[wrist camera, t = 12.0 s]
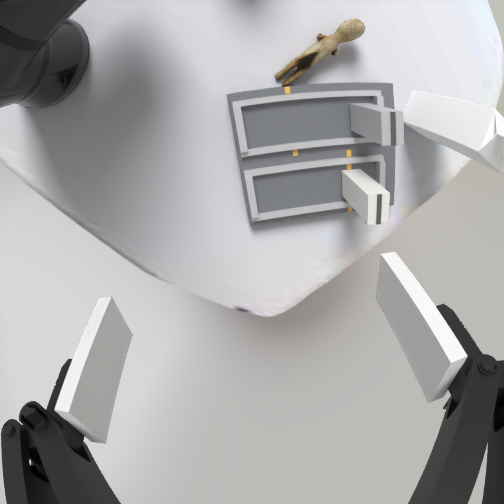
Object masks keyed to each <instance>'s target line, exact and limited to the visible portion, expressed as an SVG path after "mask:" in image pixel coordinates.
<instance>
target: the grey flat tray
mask: <svg viewBox="0 0 504 504" xmlns="http://www.w3.org/2000/svg"><path fill="white" fill-rule="evenodd" d="M227 98H228V104H229V109H230V115H231V121H232V126H233V132H234V138H235V143H236V149H237V155H238V161H239V166H240V172H241V178H242V183H243V189H244V195H245V201H246V206H247V212H248V218H249V224H250V226H255V225H261V224H267V223H273V222H280V221H286V220H293V219H299V218H306V217H313V216H319V215H326V214H333V213H340V212H347V211H348V212H351V211H354V208H353V207H352V206H351V205H350V204H349V202H348V201H347V200H346V199H345V198H344V197H343V196H342V170H352V169H361V170H362V171H364V172H365V173H366V174H367V175H369V176H370V177H371V178H372V179H374V180H375V181H376V182H377V183H379V184H380V185H381V186H382V187H383V188H385V189H386V190H387V191H388V192H389V193H390V202H389V206H391V205H394V186H395V146H392V145H386V146H382V145H380V144H378V143H376V142H374V141H372V140H370V139H368V138H366V137H364V136H362V135H360V134H358V133H356V132H354V131H351V121H350V108H349V103H371V104H375V105H379V106H383V107H387V108H391V109H394V97H393V84H391V83H325V84H308V85H295V86H285V87H275V88H267V89H259V90H252V91H245V92H238V93H232V94H227Z"/></svg>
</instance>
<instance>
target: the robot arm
mask: <svg viewBox="0 0 504 504" xmlns="http://www.w3.org/2000/svg"><path fill="white" fill-rule="evenodd" d="M85 1H86V0H0V108H1V107H4V106H7V105H11V104H14V103H16V104H19V105H22V106H26V107H29V108H44V107H48V106H52V105H54V104H57V103H59V102H60V101H62V100H63V99H65V98H66V97H67V96H68V95H69V94H70V93H71V92H72V91H73V90H74V89H75V88H76V86H77V85H78V83H79V82H80V80H81V78H82V76H83V74H84V72H85V69H86V66H87V62H88V57H89V43H88V38H87V35H86V33H85V31H84V29H83V28H82V27H81V25H80V24H78V23H77V22H76V21H74V20H71V19H68V18H69V17H70V16H71V15H72V14H73V13H74V12H75V11H76V10H77V9H78V8H79V7H80V6H81V5H82V4H83V3H84V2H85ZM376 300H377V301H378V303H379V305H380V307H381V309H382V310H383V312H384V314H385V316H386V318H387V320H388V322H389V324H390V326H391V328H392V329H393V331H394V333H395V335H396V337H397V339H398V341H399V343H400V345H401V347H402V349H403V351H404V353H405V355H406V357H407V359H408V361H409V363H410V365H411V368H412V370H413V372H414V374H415V376H416V378H417V380H418V382H419V384H420V387H421V389H422V391H423V393H424V396H425V398H426V400H427V402H428V403H429V402H432V401H435V400H437V399H440V398H442V397H443V396H444V395H445V393H446V392H447V390H449V392H450V394H451V397H450V398H449V399H448V401H447V402H446V404H445V405H444V407H443V409H446V412H445V415H444V418H443V421H442V425H441V427H440V431H439V434H438V436H437V439H436V442H435V444H434V447H433V450H432V452H431V455H430V457H429V460H428V462H427V464H426V467H425V469H424V471H423V474H422V476H421V478H420V480H419V482H418V485H417V487H416V489H415V491H414V493H413V495H412V497H411V499H410V501H409V503H408V504H468V501H469V499H470V496H471V493H472V491H473V488H474V485H475V482H476V479H477V476H478V474H479V470H480V467H481V464H482V461H483V457H484V453H485V450H486V446H487V442H488V453H487V468H486V478H485V486H484V494H483V500H482V504H504V360H503V361H496V360H495V359H494V358H493V357H492V356H490V355H487V354H482V352H481V351H480V350H479V348H478V347H477V345H476V343H475V342H474V340H473V339H472V337H471V336H470V334H469V333H468V331H467V330H466V328H464V325H463V324H462V322H461V321H459V318H458V317H457V315H456V314H455V312H454V311H453V310H452V309H450V308H449V307H448V306H446V305H445V304H442V305H438V306H435V305H434V304H433V302H432V301H431V299H430V298H429V297H428V295H427V294H426V293H425V291H424V290H423V288H422V287H421V285H420V284H419V283H418V281H417V280H416V279H415V277H414V276H413V275H412V273H411V272H410V271H409V269H408V268H407V267H406V265H405V264H404V263H403V261H402V260H401V259H400V258H399V256H398V255H397V254H396V253H395V252H390V253H385V254H381V259H380V269H379V277H378V285H377V292H376ZM131 338H132V333H131V331H130V329H129V328H128V326H127V324H126V322H125V320H124V319H123V317H122V315H121V313H120V311H119V309H118V307H117V306H116V304H115V302H114V300H113V298H112V296H111V297H103V298H99V300H98V302H97V304H96V306H95V308H94V310H93V313H92V315H91V317H90V319H89V322H88V324H87V326H86V328H85V331H84V333H83V335H82V338H81V340H80V342H79V345H78V347H77V350H76V352H75V355H74V357H73V359H68V360H67V362H66V363H65V364H64V365H63V367H62V368H61V371H60V374H59V378H58V379H57V381H56V386H55V387H54V389H53V392H52V395H51V398H50V400H49V404H48V406H47V409H46V410H45V409H44V408H43V407H42V406H41V405H40V404H39V403H37V402H35V401H31V402H28V403H26V404H25V406H23V408H22V409H21V411H20V415H19V421H20V422H21V423H22V424H24V425H21V424H20V423H19V422H18V421H17V420H14V419H10V420H8V421H7V422H6V423H5V424H4V425H3V428H2V432H1V447H2V466H3V478H4V487H5V495H6V501H7V504H121V503H120V502H119V501H118V499H117V497H116V496H115V494H114V493H113V491H112V489H111V488H110V487H109V485H108V483H107V481H106V480H105V478H104V476H103V475H102V473H101V471H100V469H99V468H98V466H97V464H96V462H95V461H94V458H93V457H92V455H91V453H90V451H89V449H88V447H87V445H86V444H85V443H84V442H83V440H84V436H85V437H86V438H88V439H89V440H90V441H92V442H97V443H106V440H107V435H108V430H109V425H110V420H111V416H112V411H113V407H114V403H115V398H116V394H117V390H118V386H119V382H120V378H121V374H122V370H123V366H124V363H125V359H126V355H127V352H128V348H129V344H130V341H131ZM446 407H447V408H446ZM29 459H30V460H31V465H30V464H29Z"/></svg>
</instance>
